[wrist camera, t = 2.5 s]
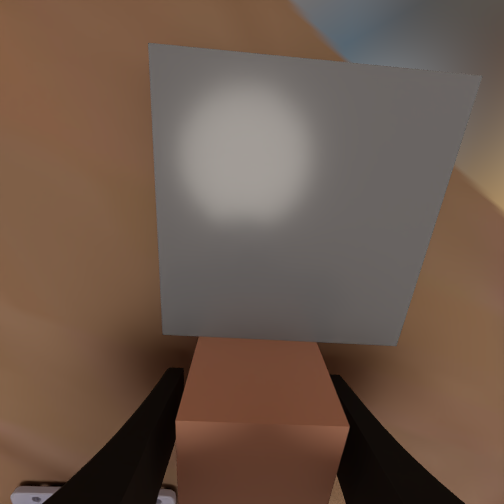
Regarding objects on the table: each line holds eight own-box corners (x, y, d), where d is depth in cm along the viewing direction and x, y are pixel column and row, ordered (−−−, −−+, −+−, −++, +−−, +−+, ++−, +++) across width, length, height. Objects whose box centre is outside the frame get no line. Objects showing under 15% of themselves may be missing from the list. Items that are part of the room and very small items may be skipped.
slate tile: (170, 318, 12) (162, 334, 10) (161, 59, 8) (148, 42, 7) (382, 328, 12) (396, 345, 11) (451, 87, 9) (482, 75, 8)
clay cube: (202, 398, 13) (179, 525, 9) (203, 317, 12) (175, 420, 7) (295, 402, 14) (321, 527, 9) (309, 323, 12) (349, 426, 7)
